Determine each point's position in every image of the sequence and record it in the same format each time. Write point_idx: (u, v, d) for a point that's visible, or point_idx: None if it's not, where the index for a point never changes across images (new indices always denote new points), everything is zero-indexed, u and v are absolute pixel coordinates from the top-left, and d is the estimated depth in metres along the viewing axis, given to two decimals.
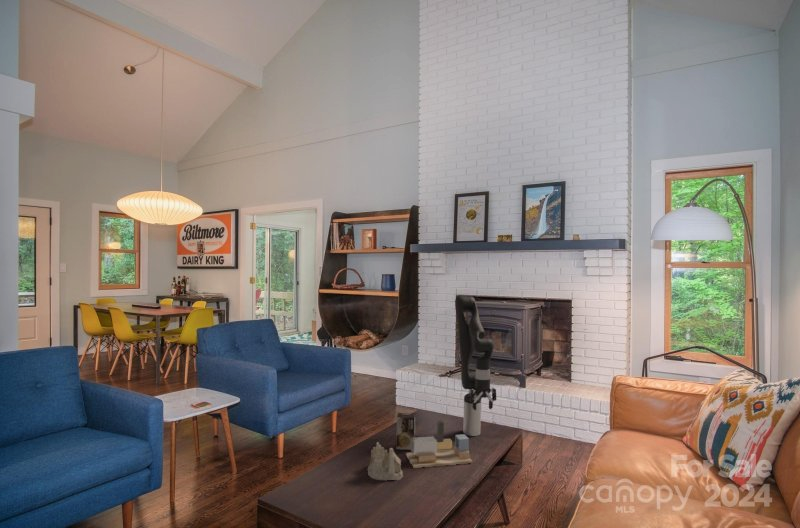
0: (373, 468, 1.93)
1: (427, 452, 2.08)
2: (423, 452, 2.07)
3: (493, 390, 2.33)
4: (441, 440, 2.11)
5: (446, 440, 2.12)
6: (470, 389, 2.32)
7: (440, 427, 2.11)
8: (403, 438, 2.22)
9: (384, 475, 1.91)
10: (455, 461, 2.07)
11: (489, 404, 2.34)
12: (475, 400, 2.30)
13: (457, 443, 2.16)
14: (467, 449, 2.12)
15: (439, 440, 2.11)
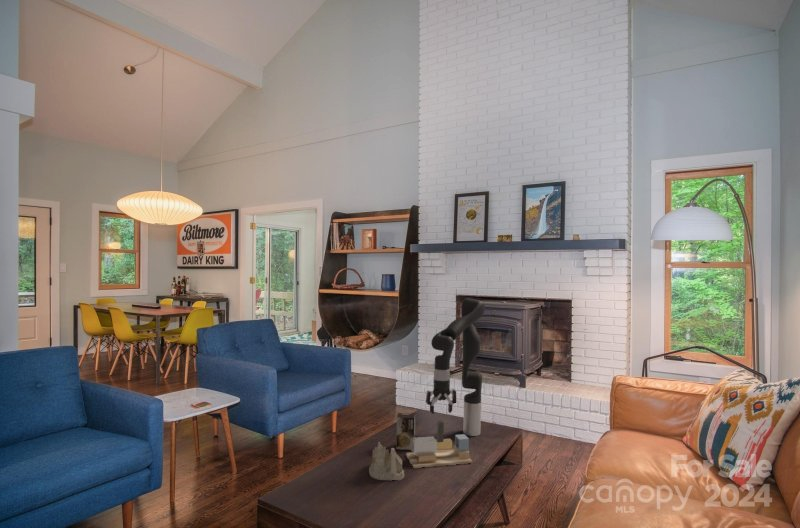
0: (375, 468, 1.93)
1: (427, 452, 2.08)
2: (423, 452, 2.07)
3: (453, 392, 2.12)
4: (441, 440, 2.11)
5: (446, 440, 2.12)
6: (427, 391, 2.11)
7: (440, 427, 2.11)
8: (403, 438, 2.22)
9: (385, 475, 1.91)
10: (455, 461, 2.07)
11: (448, 407, 2.13)
12: (433, 403, 2.10)
13: (457, 443, 2.16)
14: (467, 449, 2.12)
15: (439, 440, 2.11)
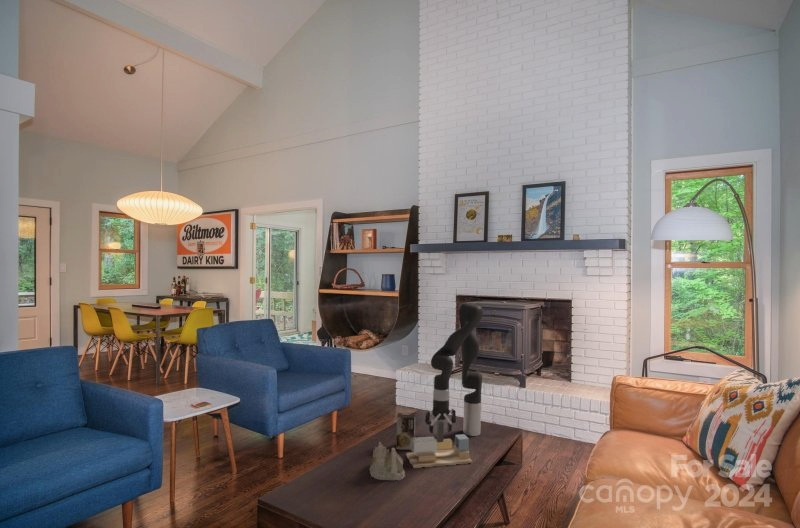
0: (375, 468, 1.93)
1: (427, 452, 2.08)
2: (423, 452, 2.07)
3: (452, 411, 2.12)
4: (441, 440, 2.11)
5: (446, 440, 2.12)
6: (427, 410, 2.11)
7: (440, 427, 2.11)
8: (403, 438, 2.22)
9: (386, 475, 1.91)
10: (455, 461, 2.07)
11: (448, 426, 2.13)
12: (432, 423, 2.10)
13: (457, 443, 2.16)
14: (467, 449, 2.12)
15: (439, 440, 2.11)
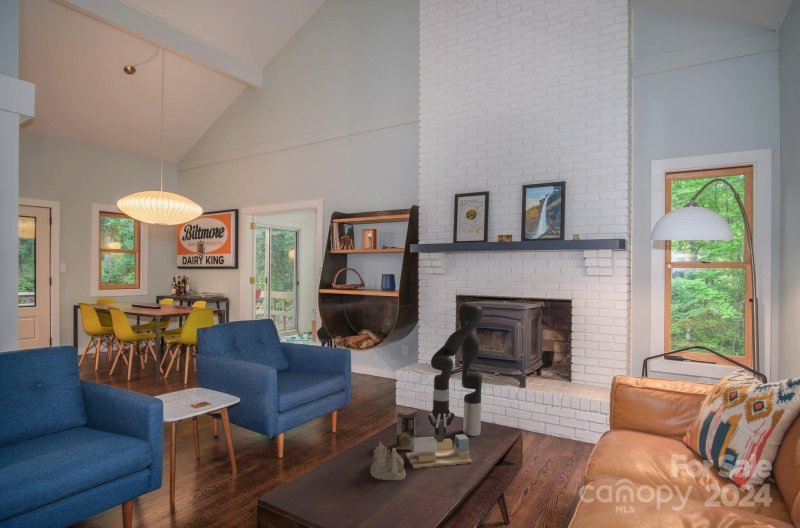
0: (376, 468, 1.93)
1: (427, 452, 2.08)
2: (423, 452, 2.07)
3: (451, 414, 2.12)
4: (441, 440, 2.11)
5: (446, 440, 2.12)
6: (427, 414, 2.11)
7: (440, 427, 2.11)
8: (403, 438, 2.22)
9: (387, 475, 1.91)
10: (455, 461, 2.07)
11: None
12: (437, 425, 2.10)
13: (457, 443, 2.16)
14: (467, 449, 2.12)
15: (439, 440, 2.11)
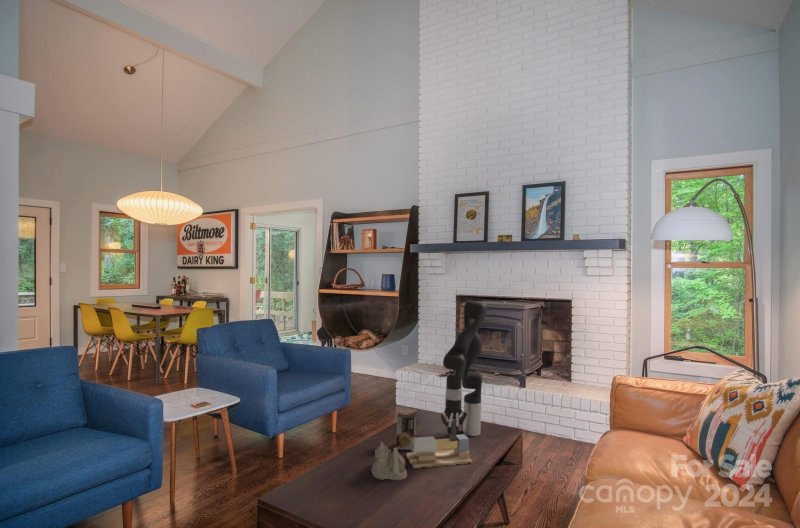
0: (377, 468, 1.93)
1: (427, 452, 2.08)
2: (423, 452, 2.07)
3: (464, 414, 2.14)
4: (454, 439, 2.12)
5: None
6: (439, 414, 2.12)
7: (453, 427, 2.12)
8: (403, 438, 2.22)
9: (388, 475, 1.92)
10: (455, 461, 2.07)
11: None
12: (449, 424, 2.12)
13: None
14: (467, 449, 2.12)
15: (452, 439, 2.12)
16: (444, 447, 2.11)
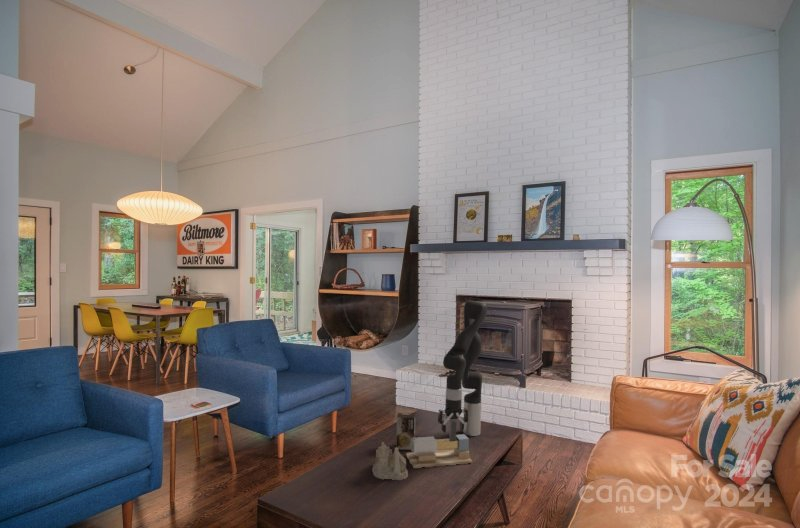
0: (378, 468, 1.93)
1: (427, 452, 2.08)
2: (423, 452, 2.07)
3: (465, 411, 2.14)
4: (454, 439, 2.12)
5: None
6: (439, 410, 2.12)
7: (453, 427, 2.12)
8: (403, 438, 2.22)
9: (389, 475, 1.92)
10: (455, 461, 2.07)
11: (460, 426, 2.15)
12: (444, 422, 2.11)
13: None
14: (467, 449, 2.12)
15: (452, 439, 2.12)
16: (444, 447, 2.11)
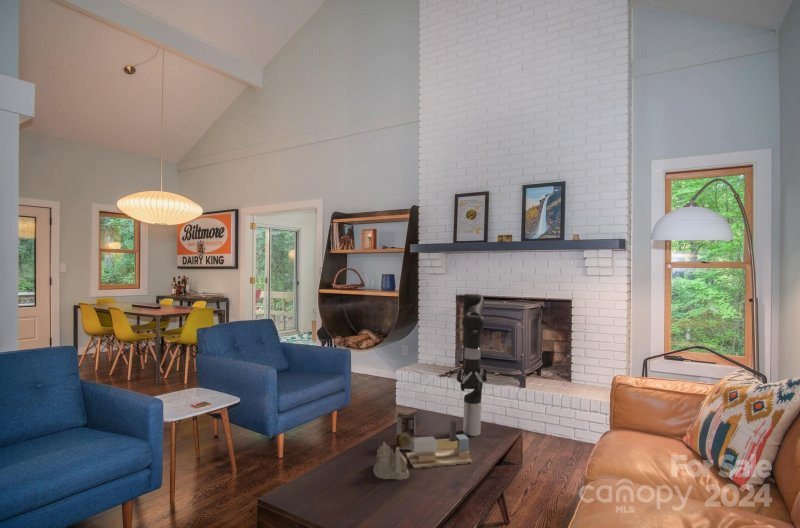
0: (379, 468, 1.93)
1: (427, 452, 2.08)
2: (423, 452, 2.07)
3: (483, 370, 2.17)
4: (454, 439, 2.12)
5: None
6: (458, 369, 2.16)
7: (453, 427, 2.12)
8: (403, 438, 2.22)
9: (390, 475, 1.92)
10: (455, 461, 2.07)
11: (479, 385, 2.18)
12: (463, 381, 2.15)
13: None
14: (467, 449, 2.12)
15: (452, 439, 2.12)
16: (444, 447, 2.11)
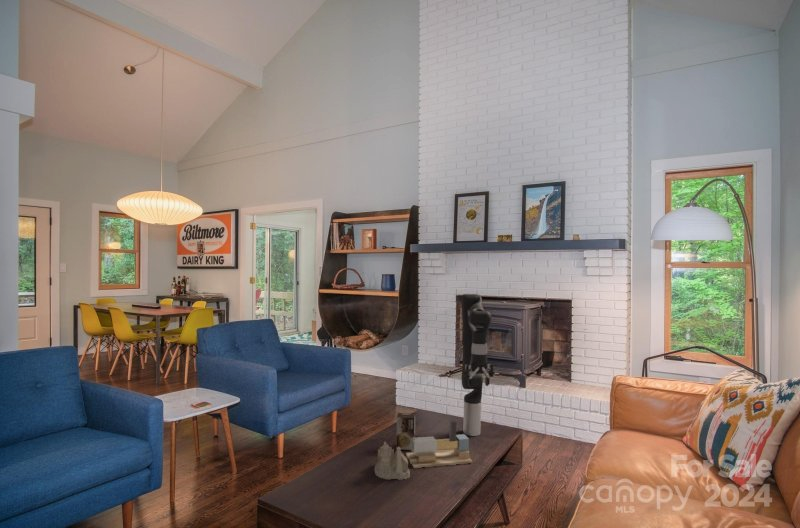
0: (380, 467, 1.93)
1: (427, 452, 2.08)
2: (423, 452, 2.07)
3: (490, 366, 2.19)
4: (454, 439, 2.12)
5: None
6: (465, 364, 2.17)
7: (453, 427, 2.12)
8: (403, 438, 2.22)
9: (391, 475, 1.92)
10: (455, 461, 2.07)
11: (486, 380, 2.19)
12: (471, 376, 2.16)
13: None
14: (467, 449, 2.12)
15: (452, 439, 2.12)
16: (444, 447, 2.11)
